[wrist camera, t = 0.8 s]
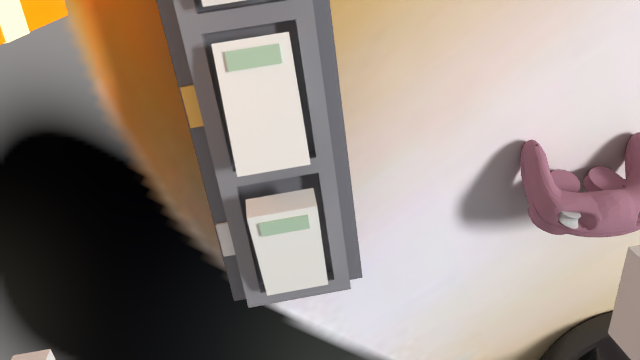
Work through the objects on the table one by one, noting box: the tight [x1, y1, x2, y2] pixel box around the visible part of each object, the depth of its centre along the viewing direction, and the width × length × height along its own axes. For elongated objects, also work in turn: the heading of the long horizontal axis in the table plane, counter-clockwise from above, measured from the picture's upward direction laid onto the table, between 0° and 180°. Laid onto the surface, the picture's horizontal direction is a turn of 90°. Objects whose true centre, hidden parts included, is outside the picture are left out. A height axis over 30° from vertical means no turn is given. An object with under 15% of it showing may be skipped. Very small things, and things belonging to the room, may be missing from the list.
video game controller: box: [520, 132, 640, 237], centre depth 37 cm, size 10×5×7 cm, turn 91°
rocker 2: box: [246, 188, 328, 296], centre depth 32 cm, size 7×4×2 cm, turn 8°
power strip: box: [156, 0, 362, 307], centre depth 31 cm, size 28×9×5 cm, turn 8°
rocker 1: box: [211, 32, 311, 177], centre depth 28 cm, size 7×4×2 cm, turn 8°
